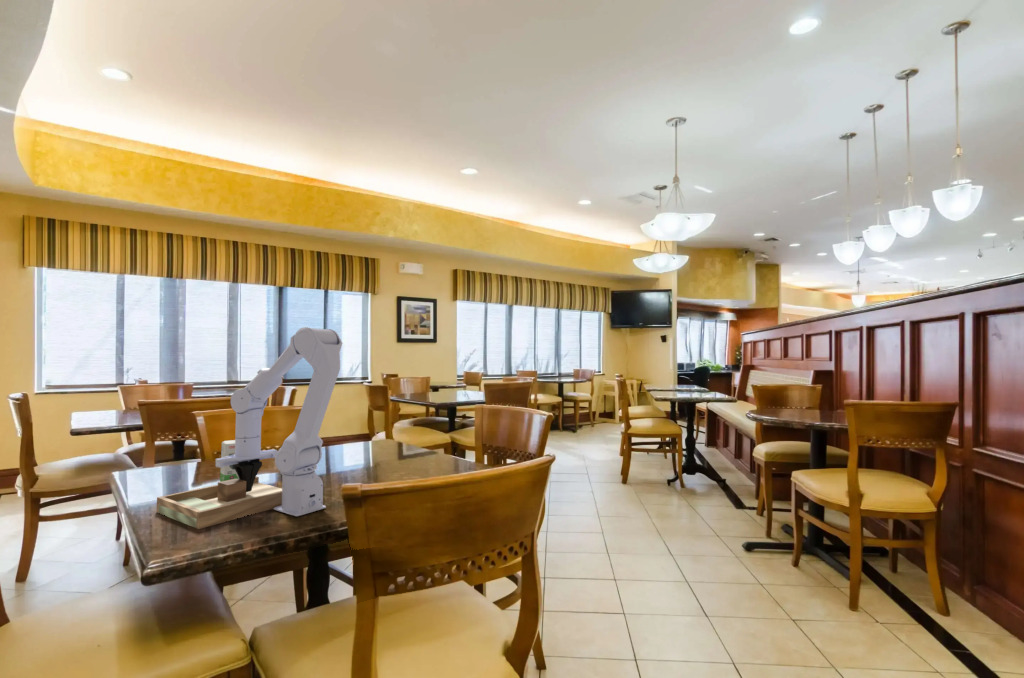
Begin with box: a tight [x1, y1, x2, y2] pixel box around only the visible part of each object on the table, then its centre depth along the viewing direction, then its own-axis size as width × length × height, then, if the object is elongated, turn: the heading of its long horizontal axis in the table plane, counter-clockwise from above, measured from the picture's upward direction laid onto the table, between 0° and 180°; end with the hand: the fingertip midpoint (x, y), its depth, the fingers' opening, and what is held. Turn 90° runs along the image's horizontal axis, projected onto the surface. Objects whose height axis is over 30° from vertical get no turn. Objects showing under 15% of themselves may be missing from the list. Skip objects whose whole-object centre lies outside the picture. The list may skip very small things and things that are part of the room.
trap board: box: [156, 476, 282, 530], centre depth 120 cm, size 20×24×4 cm
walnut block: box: [217, 479, 246, 502], centre depth 120 cm, size 4×4×4 cm
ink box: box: [219, 439, 239, 482], centre depth 144 cm, size 9×5×12 cm, turn 132°
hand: (246, 491), depth 123 cm, fingers closed
